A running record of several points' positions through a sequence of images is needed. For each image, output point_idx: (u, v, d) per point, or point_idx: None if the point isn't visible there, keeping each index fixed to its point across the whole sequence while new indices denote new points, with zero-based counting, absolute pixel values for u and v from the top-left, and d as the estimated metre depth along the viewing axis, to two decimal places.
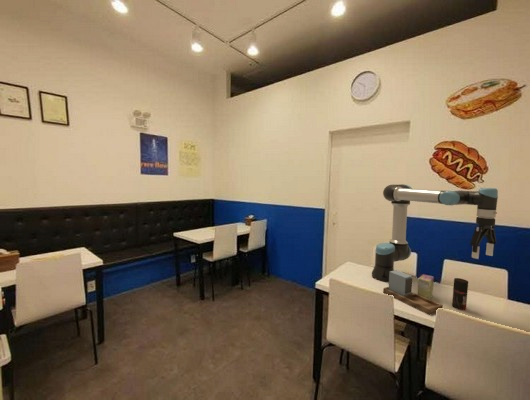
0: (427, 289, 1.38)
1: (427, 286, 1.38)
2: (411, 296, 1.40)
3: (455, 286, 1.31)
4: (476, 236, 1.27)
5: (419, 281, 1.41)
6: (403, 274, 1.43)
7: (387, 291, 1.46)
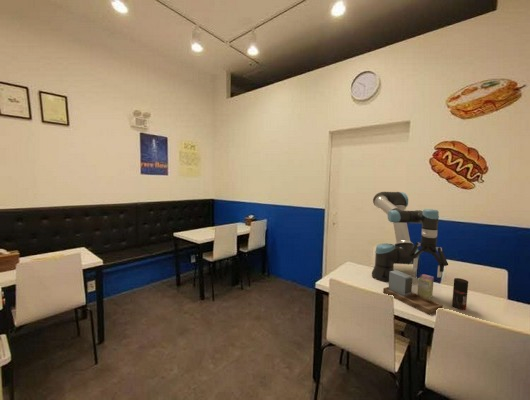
0: (427, 289, 1.38)
1: (427, 286, 1.38)
2: (411, 296, 1.40)
3: (455, 286, 1.31)
4: None
5: (419, 281, 1.41)
6: (403, 274, 1.43)
7: (387, 291, 1.46)
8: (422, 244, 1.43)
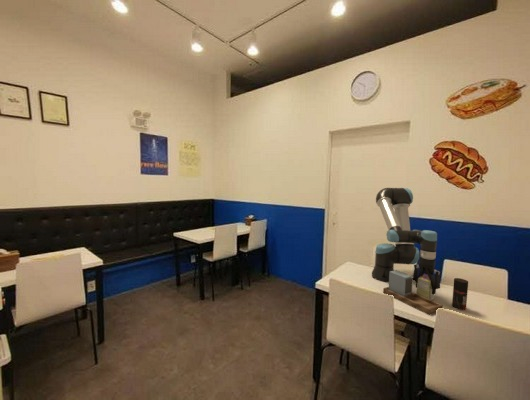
0: (427, 289, 1.38)
1: (427, 286, 1.38)
2: (411, 296, 1.40)
3: (455, 286, 1.31)
4: None
5: (419, 281, 1.41)
6: (403, 274, 1.43)
7: (387, 291, 1.46)
8: (420, 265, 1.44)
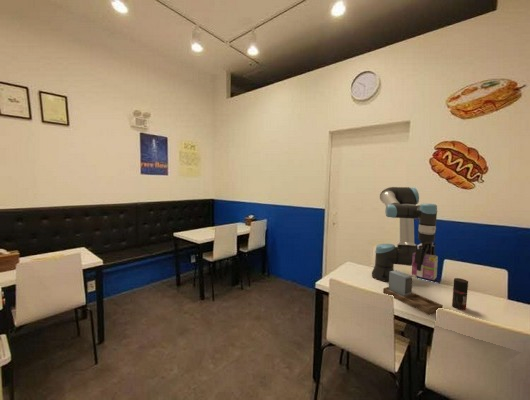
0: None
1: (437, 262, 1.29)
2: (411, 296, 1.40)
3: (455, 286, 1.31)
4: (418, 255, 1.28)
5: (435, 260, 1.26)
6: (403, 274, 1.43)
7: (387, 291, 1.46)
8: (424, 243, 1.28)
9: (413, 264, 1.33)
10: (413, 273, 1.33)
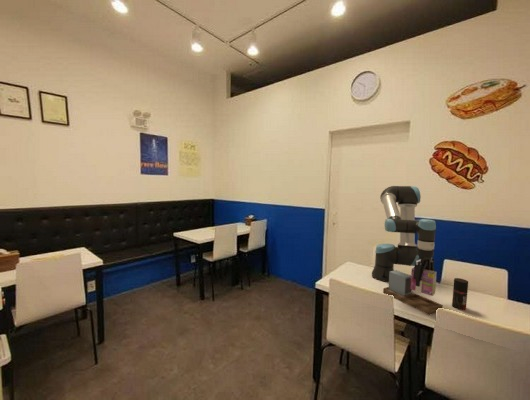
0: (435, 280, 1.30)
1: (435, 277, 1.30)
2: (411, 296, 1.40)
3: (455, 286, 1.31)
4: (417, 271, 1.28)
5: (434, 276, 1.27)
6: (403, 274, 1.43)
7: (387, 291, 1.46)
8: (423, 259, 1.29)
9: (412, 279, 1.34)
10: (412, 288, 1.34)
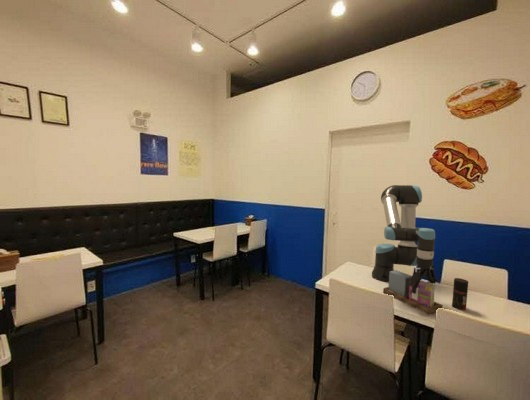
0: (434, 293, 1.30)
1: (434, 290, 1.30)
2: None
3: (455, 286, 1.31)
4: (415, 278, 1.28)
5: (431, 290, 1.27)
6: (403, 274, 1.43)
7: (387, 291, 1.46)
8: (423, 268, 1.29)
9: (410, 292, 1.34)
10: None
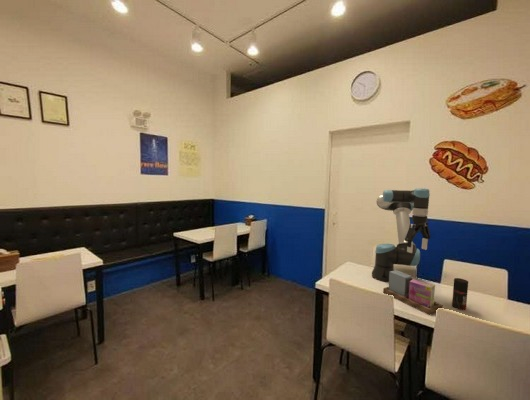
0: (434, 293, 1.30)
1: (434, 290, 1.30)
2: None
3: (455, 286, 1.31)
4: (410, 232, 1.40)
5: (431, 290, 1.27)
6: (403, 274, 1.43)
7: (387, 291, 1.46)
8: (418, 224, 1.41)
9: (410, 292, 1.34)
10: None
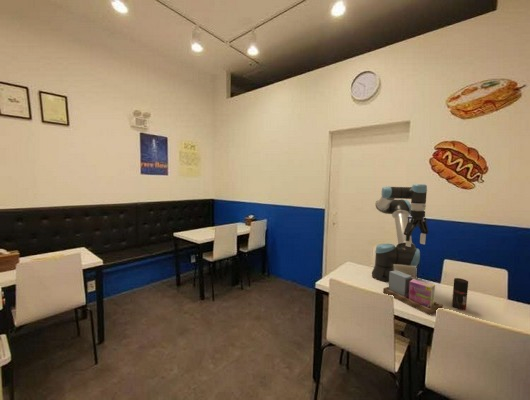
0: (434, 293, 1.30)
1: (434, 290, 1.30)
2: None
3: (455, 286, 1.31)
4: (408, 227, 1.44)
5: (431, 290, 1.27)
6: (403, 274, 1.43)
7: (387, 291, 1.46)
8: (416, 219, 1.45)
9: (410, 292, 1.34)
10: None
